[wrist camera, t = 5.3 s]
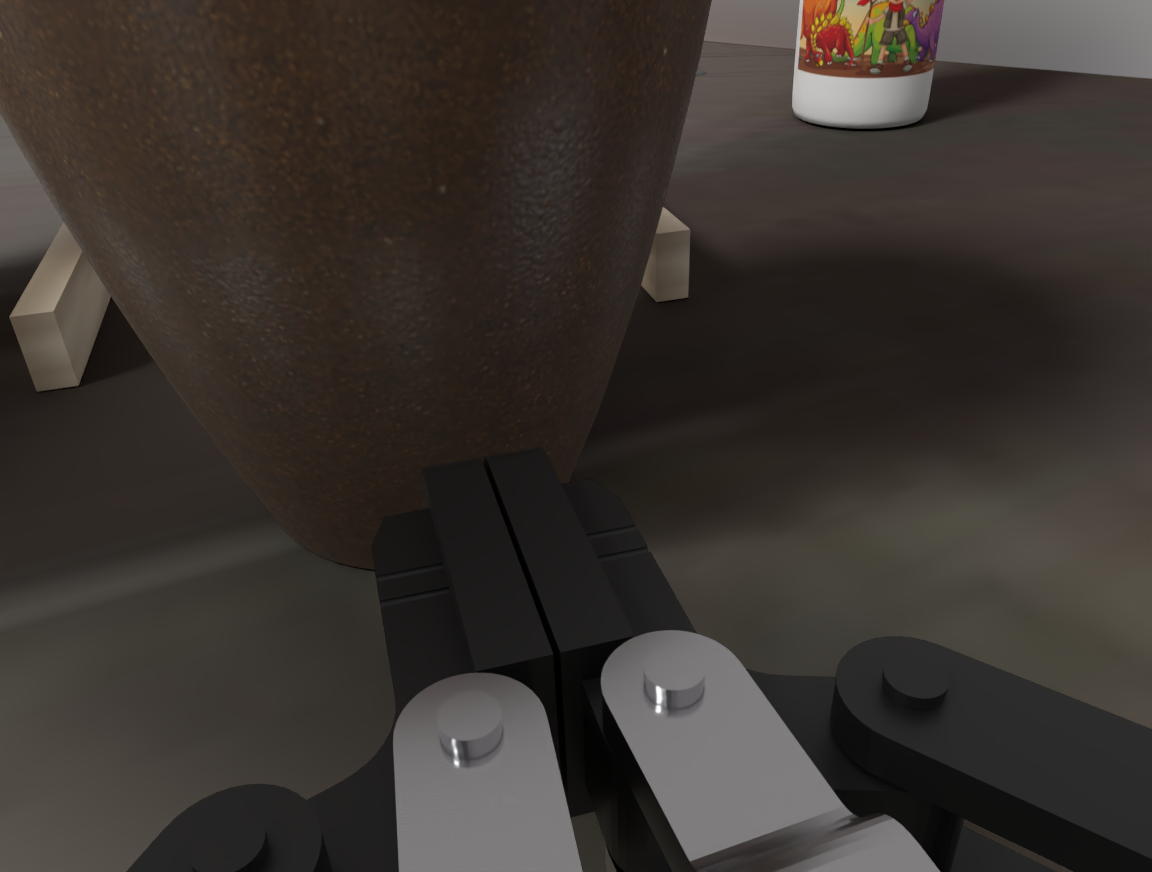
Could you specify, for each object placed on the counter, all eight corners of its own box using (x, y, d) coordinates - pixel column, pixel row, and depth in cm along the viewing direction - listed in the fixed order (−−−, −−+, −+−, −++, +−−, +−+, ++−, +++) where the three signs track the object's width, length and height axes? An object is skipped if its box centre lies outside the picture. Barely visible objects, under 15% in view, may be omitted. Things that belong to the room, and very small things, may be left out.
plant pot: (790, 678, 18) (918, -436, 10) (-12, 738, 18) (-582, -400, 9) (670, 342, 31) (682, -267, 23) (203, 370, 30) (43, -247, 22)
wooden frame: (36, 391, 29) (-34, 200, 26) (124, 192, 48) (88, 65, 45) (688, 297, 34) (693, 124, 31) (539, 148, 52) (533, 31, 49)
